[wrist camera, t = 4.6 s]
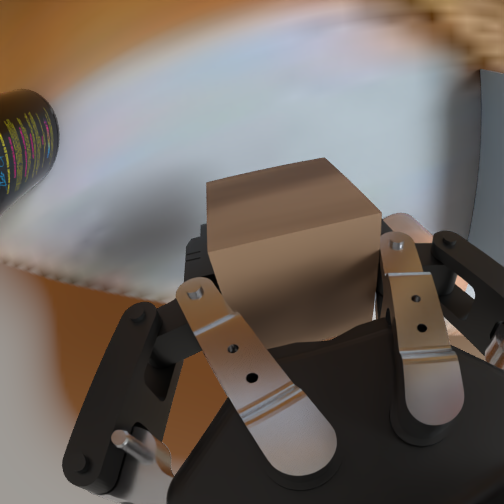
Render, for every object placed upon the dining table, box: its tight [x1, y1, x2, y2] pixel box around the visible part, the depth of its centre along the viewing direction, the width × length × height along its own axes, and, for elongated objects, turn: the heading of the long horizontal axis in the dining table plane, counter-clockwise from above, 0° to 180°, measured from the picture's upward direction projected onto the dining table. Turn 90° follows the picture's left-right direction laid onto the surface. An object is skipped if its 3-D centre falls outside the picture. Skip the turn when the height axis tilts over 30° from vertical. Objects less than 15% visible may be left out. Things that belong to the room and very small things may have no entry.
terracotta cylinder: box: [383, 213, 468, 292], centre depth 20 cm, size 5×5×7 cm
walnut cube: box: [206, 158, 382, 349], centre depth 12 cm, size 5×5×5 cm
